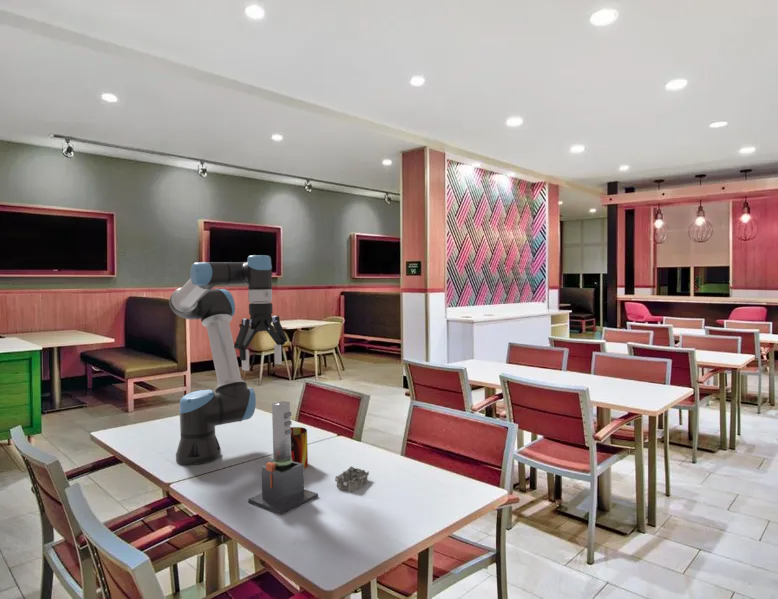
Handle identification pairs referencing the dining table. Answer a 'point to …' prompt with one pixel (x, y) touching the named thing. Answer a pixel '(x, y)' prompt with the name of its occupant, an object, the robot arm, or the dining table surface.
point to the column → (281, 435)
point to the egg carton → (356, 476)
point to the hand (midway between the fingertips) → (262, 367)
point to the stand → (282, 489)
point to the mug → (299, 445)
